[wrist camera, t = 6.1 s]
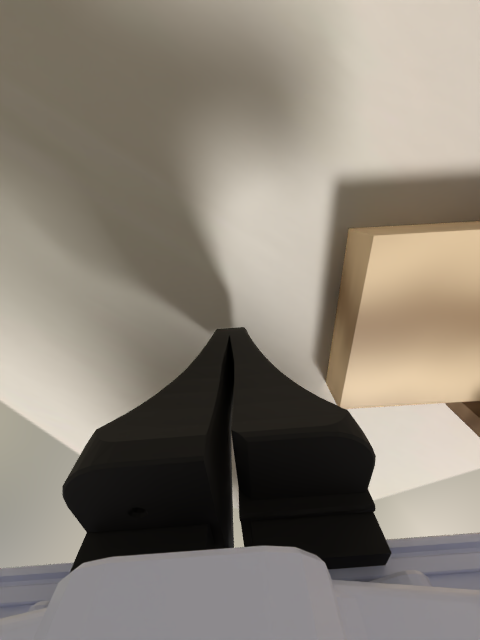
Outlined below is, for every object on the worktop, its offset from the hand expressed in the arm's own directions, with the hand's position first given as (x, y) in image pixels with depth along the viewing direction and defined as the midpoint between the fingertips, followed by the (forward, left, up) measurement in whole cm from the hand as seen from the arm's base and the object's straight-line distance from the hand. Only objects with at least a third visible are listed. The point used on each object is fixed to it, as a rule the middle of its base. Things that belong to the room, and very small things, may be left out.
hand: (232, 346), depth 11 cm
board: (0, -12, -2) cm, 12 cm away
